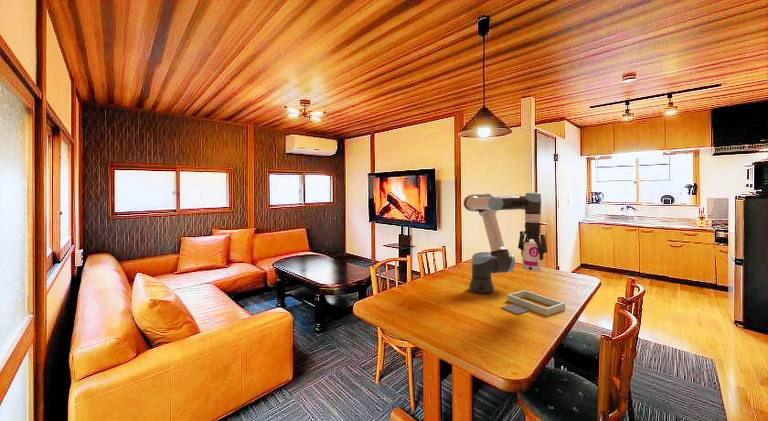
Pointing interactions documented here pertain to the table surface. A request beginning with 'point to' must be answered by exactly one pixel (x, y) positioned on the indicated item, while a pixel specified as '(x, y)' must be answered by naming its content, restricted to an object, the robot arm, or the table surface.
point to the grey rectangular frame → (555, 305)
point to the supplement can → (531, 256)
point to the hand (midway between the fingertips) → (531, 263)
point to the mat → (515, 309)
